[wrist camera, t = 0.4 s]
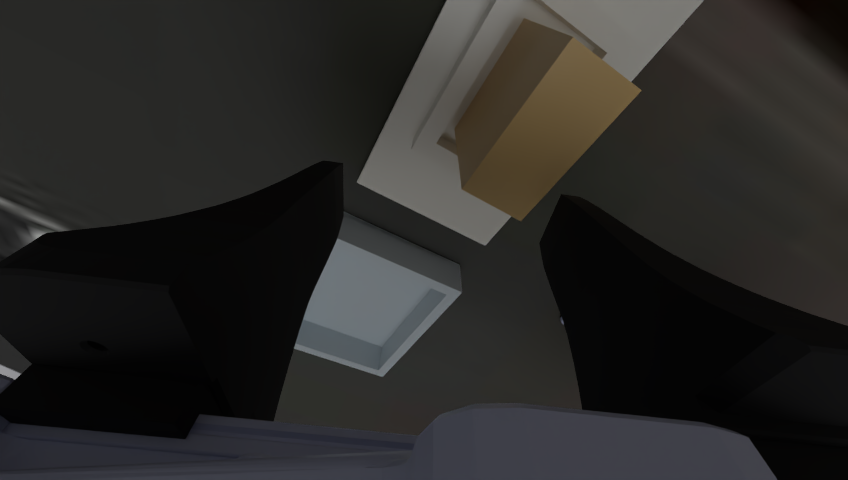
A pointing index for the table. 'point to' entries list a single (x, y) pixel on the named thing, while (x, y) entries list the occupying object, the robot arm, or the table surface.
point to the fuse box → (464, 75)
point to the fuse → (536, 117)
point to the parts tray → (375, 298)
